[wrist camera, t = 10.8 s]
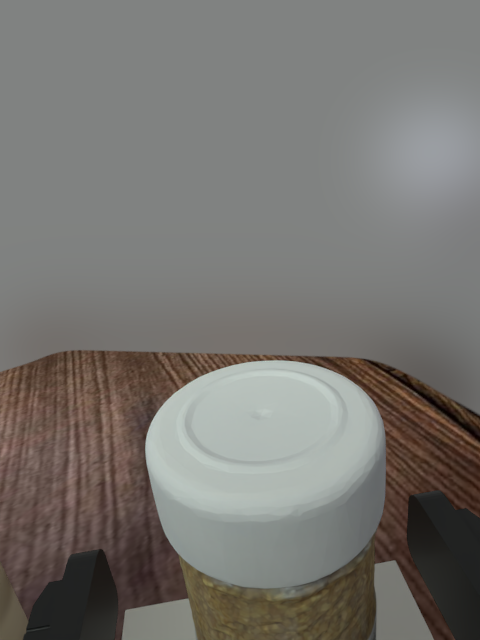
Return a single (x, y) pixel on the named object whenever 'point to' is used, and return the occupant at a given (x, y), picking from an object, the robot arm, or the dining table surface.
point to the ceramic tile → (391, 620)
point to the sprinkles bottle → (272, 500)
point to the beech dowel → (10, 611)
